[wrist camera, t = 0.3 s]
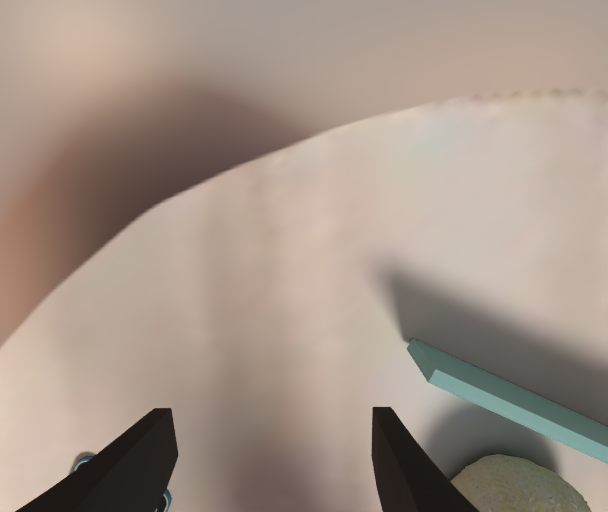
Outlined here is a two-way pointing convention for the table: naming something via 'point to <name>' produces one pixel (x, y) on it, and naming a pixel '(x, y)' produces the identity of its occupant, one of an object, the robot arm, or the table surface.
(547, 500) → the sea urchin shell
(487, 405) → the teal plank
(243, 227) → the table surface
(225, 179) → the table surface
